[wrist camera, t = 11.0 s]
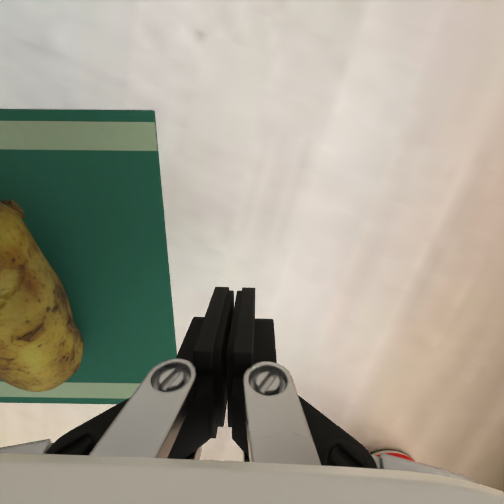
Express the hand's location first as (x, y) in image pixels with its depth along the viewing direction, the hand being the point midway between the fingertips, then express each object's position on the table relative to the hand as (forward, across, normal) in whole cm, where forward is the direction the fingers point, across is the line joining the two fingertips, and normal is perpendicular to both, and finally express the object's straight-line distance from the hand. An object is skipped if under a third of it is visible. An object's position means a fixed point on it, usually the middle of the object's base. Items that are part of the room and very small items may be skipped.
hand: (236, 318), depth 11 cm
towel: (+7, +13, +2) cm, 15 cm away
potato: (+7, +14, +2) cm, 16 cm away
